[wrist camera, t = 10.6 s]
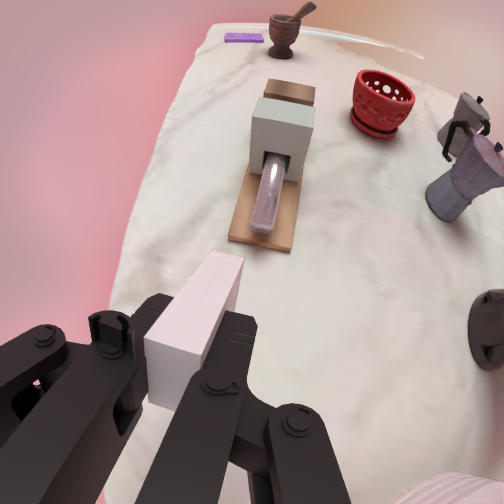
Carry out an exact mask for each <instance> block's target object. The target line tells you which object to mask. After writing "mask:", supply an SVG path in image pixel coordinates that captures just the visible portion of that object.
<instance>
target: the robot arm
mask: <svg viewBox="0 0 504 504" xmlns="http://www.w3.org/2000/svg"><path fill="white" fill-rule="evenodd" d="M244 259H245V258H242V257H238V256H234V255H229V254H225V253H221V252H216V251H211V252H210V253H209V255H208V256H207V257H206V258H205V260H204V261H203V262H202V263H201V265H200V266H199V267H198V268H197V269H196V271H195V272H194V273H193V274H192V276H191V277H190V278H189V280H188V281H187V282H186V283H185V285H184V286H183V287H182V288H181V290H180V291H179V292H178V293H177V295H176V296H175V297H171V296H168V295H164V294H161V293H158V294H156V295H154V296H151V297H149V298H148V299H147V300H146V301H145V302H144V303H143V304H142V305H141V307H139V308H138V309H137V310H136V311H135V314H133V315H132V316H131V317H129V316H127V315H126V314H124V313H122V312H118V311H113V310H109V311H100V312H97V313H94V314H93V315H91V316H89V317H88V320H89V326H90V332H91V338H92V342H91V344H90V345H85V344H79V343H73V342H68V341H66V338H65V335H64V333H63V331H62V330H61V329H60V328H58V327H57V326H54V325H50V324H46V325H39V326H36V327H34V328H32V329H30V330H28V331H26V332H25V333H23V334H21V335H19V336H18V337H16V338H14V339H12V340H10V341H9V342H7V343H5V344H4V345H2V346H0V504H95V502H96V500H97V498H98V496H99V495H100V493H101V491H102V489H103V487H104V485H105V483H106V481H107V479H108V477H109V475H110V473H111V471H112V469H113V467H114V466H115V464H116V462H117V460H118V458H119V456H120V454H121V452H122V450H123V448H124V447H125V445H126V443H127V441H128V439H129V437H130V435H131V433H132V432H133V430H134V428H135V426H136V424H137V422H138V420H139V419H140V417H141V414H142V410H143V408H142V401H143V399H144V398H145V396H146V394H147V392H148V400H149V402H150V403H153V404H155V405H158V406H161V407H164V408H167V409H170V410H173V411H175V414H174V416H173V418H172V420H171V423H170V425H169V427H168V429H167V432H166V434H165V436H164V438H163V441H162V443H161V445H160V447H159V450H158V452H157V454H156V456H155V459H154V461H153V463H152V465H151V468H150V470H149V472H148V474H147V477H146V479H145V481H144V483H143V486H142V488H141V490H140V492H139V495H138V497H137V499H136V501H135V504H218V500H219V496H220V492H221V488H222V484H223V480H224V476H225V472H226V468H227V464H228V461H229V462H231V463H233V464H235V465H237V466H239V467H241V468H243V469H245V470H247V474H248V482H249V490H250V498H251V504H351V501H350V498H349V495H348V492H347V489H346V486H345V483H344V480H343V477H342V474H341V471H340V468H339V465H338V462H337V459H336V456H335V453H334V451H333V448H332V445H331V442H330V439H329V436H328V433H327V430H326V427H325V424H324V422H323V420H322V419H321V417H320V415H319V414H318V413H316V412H315V411H314V410H313V409H312V408H309V407H307V406H304V405H302V404H294V403H290V404H284V405H281V406H279V407H278V408H275V407H273V406H271V405H268V404H266V403H264V402H263V401H261V400H259V399H258V398H257V397H255V396H254V395H253V394H252V392H251V391H250V389H249V388H248V385H247V374H248V369H249V365H250V360H251V355H252V351H253V346H254V341H255V337H256V332H257V327H258V326H257V324H256V322H255V319H254V317H252V316H248V315H244V314H239V313H235V312H234V310H235V305H236V300H237V295H238V290H239V284H240V279H241V274H242V269H243V264H244ZM468 334H469V342H470V347H471V351H472V353H473V356H474V358H475V360H476V361H477V363H478V364H479V365H480V366H481V367H482V368H484V369H486V370H494V369H499V368H502V367H504V289H492V290H489V291H487V292H485V293H483V294H481V295H479V296H478V297H477V298H476V300H475V301H474V303H473V305H472V308H471V311H470V315H469V323H468ZM36 380H39V382H40V384H39V385H33V382H35V381H36Z"/></svg>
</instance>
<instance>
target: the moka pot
mask: <svg viewBox="0 0 504 504" xmlns="http://www.w3.org/2000/svg"><path fill="white" fill-rule="evenodd" d="M456 127H461V128H462V129H463V131H464V133H465V135H466V136H467V137H468V138H469V140H468V142H467V144H466V145H465V147H464V149H463V150H462V152H461V153H460V155H459V156H458V158H457V160H456V163H455V164H453V166H452V168H451V169H450V170H449V171H447V172H446V173H444V174H443V175H442V176H441V177H439V178H438V179H437V180H435V181H434V182H433V183H431V184H430V185H429V186H428V187H427V190H426V197H427V200H428V203H429V205H430V207H431V209H432V210H433V212H434V213H435V214H436V215H437V216H438V217H439V218H440V219H442V220H444V221H446V222H452V221H453V220H455V219H456V218H457V217H458V216H459V215H460V214H461V213H462V212H463V211H464V210H465V209H466V207H467V206H468V205H471V203H472V201H473V199H474V198H476V197H477V196H478V195H481V194H484V193H486V192H487V191H489V190H490V189H493V188H498V187H503V186H504V158H503V156H502V155H501V153H500V151H502V150H503V147H502V145H501V144H500V143H499V142H497V143H496V145H494V144H493V143H491V142H490V141H489V140H488V139H487V138H486V137H485V136H484V135H480V134H477V132H476V131H475V130H474V129H473V128H471V127H470V125H469V124H468V122H467V121H463V120H461V121H452V122H451V124H450V126H449V131H448V135H447V139H446V143H445V145H444V148H443V152H442V154H443V156H444V157H445V159H446V160H447V161H448V162H451V161H452V159H451V158H450V156H449V155H448V151H449V146H450V145H451V142H452V139H453V136H454V133H455V130H456Z"/></svg>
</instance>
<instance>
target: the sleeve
mask: <svg viewBox="0 0 504 504" xmlns="http://www.w3.org/2000/svg"><path fill="white" fill-rule="evenodd" d="M314 117H315V107H311V106H306V105H302V104H297V103H292V102H287V101H281V100H276V99H270V98H264V97H259V99H258V101H257V104H256V107H255V110H254V112H253V115H252V125H251V142H250V161H249V172H250V173H255V174H260V175H263V171H264V167H265V163H266V159H267V155H268V151H269V152H274V153H279V154H284V155H288V156H287V162H286V167H285V172H284V178H283V179H286V180H290V181H295V182H299V178H300V175H301V171H302V168H303V164H304V161H305V157H306V154H307V150H308V146H309V143H310V139H311V135H312V132H313V128H314Z"/></svg>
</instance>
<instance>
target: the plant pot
mask: <svg viewBox="0 0 504 504" xmlns="http://www.w3.org/2000/svg"><path fill="white" fill-rule="evenodd" d="M367 81H369V84H368V85H366V84H365V83H366V82H367ZM375 81H378V82H379V85H375V84H374V82H375ZM384 85H388V86H389V87H390V88H391V92H390V93H385V92H384V91H383V86H384ZM370 87H372V89H371V88H370ZM396 89H397V90H398V91H399V94H398V95H397V94H396V93H395V90H396ZM376 90H379V91H380V92H379V93H377V92H376ZM393 96H395V97H396V100H393V99H392V97H393ZM401 97H403V101H401ZM407 99H408V101H407ZM406 101H407V102H406ZM414 102H415V95H414V93H413V92H412V90H411V89H410V88H409V87H408V86H407V85H406V84H404V83H403V82H402V81H400V80H399V79H397V78H395V77H393V76H391V75H389V74H387V73H384V72H381V71H376V70H362V71H360V72H359V73H358V74H357V77H356V80H355V84H354V89H353V107H352V108H351V111H350V114H351V117H352V120H353V121H354V123H355V124H356V125H357V126H358V127H359V128H360V129H361V130H363V131H364V132H366V133H367V134H370V135H372V136H375V137H379V138H389V137H392V136H394V135H395V134H396V133H397V131H398V126H399V125H400V124H402V123H403V121H404V120H405V119H406V118H407V116H408V115H409V113H410V111H411V109H412V107H413V105H414Z"/></svg>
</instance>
